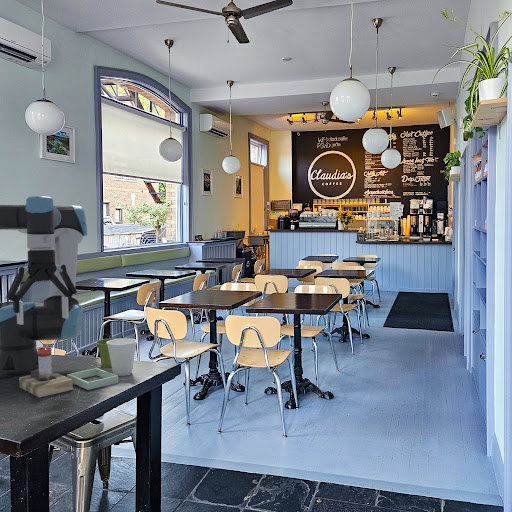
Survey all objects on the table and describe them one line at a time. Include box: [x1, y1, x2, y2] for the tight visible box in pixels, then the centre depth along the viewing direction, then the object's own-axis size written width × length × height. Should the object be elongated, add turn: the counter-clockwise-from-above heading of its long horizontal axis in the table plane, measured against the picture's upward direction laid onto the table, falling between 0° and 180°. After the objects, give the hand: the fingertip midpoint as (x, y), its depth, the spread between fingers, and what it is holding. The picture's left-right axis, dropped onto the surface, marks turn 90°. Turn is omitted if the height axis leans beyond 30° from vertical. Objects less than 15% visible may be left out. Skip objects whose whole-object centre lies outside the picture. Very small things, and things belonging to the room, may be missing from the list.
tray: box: [66, 367, 119, 391], centre depth 168 cm, size 13×10×3 cm
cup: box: [106, 337, 138, 377], centre depth 180 cm, size 10×10×11 cm
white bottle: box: [37, 346, 53, 382], centre depth 161 cm, size 4×4×12 cm
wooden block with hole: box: [18, 369, 74, 398], centre depth 162 cm, size 14×10×6 cm
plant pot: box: [95, 337, 117, 368], centre depth 191 cm, size 9×9×9 cm
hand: (43, 321), depth 160 cm, fingers open, 13 cm apart
